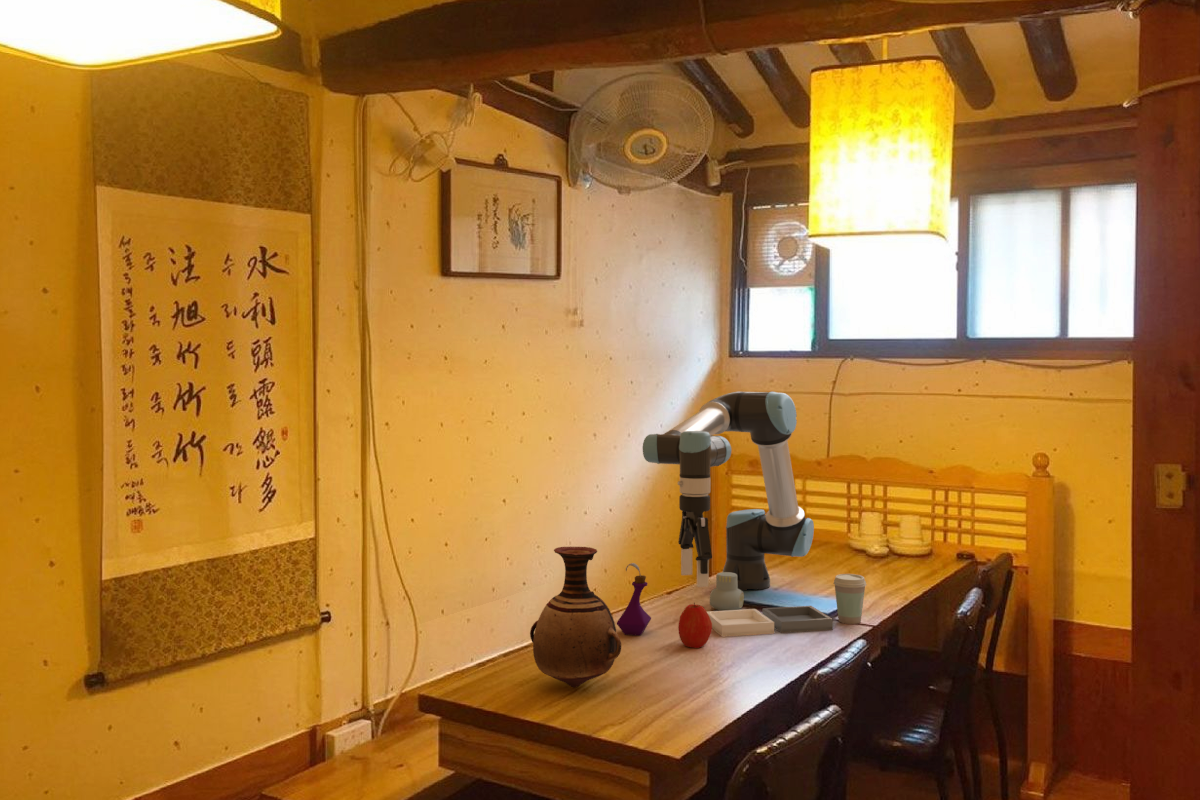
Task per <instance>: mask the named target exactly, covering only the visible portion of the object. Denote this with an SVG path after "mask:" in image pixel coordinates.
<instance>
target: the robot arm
mask: <svg viewBox="0 0 1200 800" xmlns="http://www.w3.org/2000/svg"><path fill="white" fill-rule="evenodd" d="M797 421H798V420H797V410H796V405H795V403H794V400H793V399H792V397H790V395H788V394H787V393H784V392H777V391H770V392H767V391H732V392H730V393H729V392H728V393H726V394H723V395H720V396H718V397H715V398H713V399H711V400H709V401H707V402H706V403H704V404H702V406H701V408H699V411H698V412H697V413H695V414H693V415H692V416H690V417H688V418H686V419H685V420H684V421H682V422H681V423H679V424H677V425H676V426H674V427H673V428H671V429H669V430H668V431H666V432H664V433H661V434H659V433H653V434H652V433H651V434H647V435H646V436H645V438H644V440H643V443H642V455H643V459H644V460H645V461H646V462H648V463H652V464H653V463H654V464H658V465H660V464H662V465H679V480H678V481H677V485H678V486H679V493H680V495H679V504H678V505H679V507H678V508H679V510H680V511H681V523H680V529H679V530H680V531H679V536H678V542H677V543H678V544H679V545H680V548H681V549H680V551H681V552H680V554H681V555H680V556H681V557H680V564H681V566H680V575H681V576H693V548H695V549H696V554H697V556H696V558H695V561H696V587H697V588H709V585H710V584H709V583H710V581H709V580H710V579H709V578H710V575H709V574H710V572H709V571H710V569H709V568H710V560H711V559H713V553H712V552H713V551H712V545H711V540H710V531H709V519H708V517H704V514H703V513H704V512H705V513H706V512H709V511H710V510H711V496H710V495H709V494H710V493H711V488H712V487H711V485H712V482H711V477H712V476H711V468H713V467H718V466H721V465H723V464H726V462H727V461H729V459H730V458H731V455H732V446H731V443H730V441H729V440H728V439H727V438H726V437H724V436H721V435H720V434H723V433H724V432H735V433H736V432H738V433H749V435H750V439H751V442H752V443H753V444H755V445H757V448H758V454H759V460H760V464H761V465H760V466H761V472H762V477H763V481H764V487H765V492H766V493H765V494H766V498H767V499H766V500H767V505H768V506H767V507H768V511H767V512H766V511H765V510H764V509H761V508H753V509H743V510H736V511H732V512H729V513H728V515H727V517H726V525H725V530H726V531H725V532H726V533H725V534H726V538H725V539H726V540H725V542H726V545H725V546H726V551H725V552H726V558H725V564H724V566H723V569H722V572H732V573H736V574H737V581H738V589H740V590H741V591H748V590H747V589H759V590H764V589H767V588H769V587H770V586H771V577H770V575H769V571H768V567H767V564H766V561H765V554H769V555H777V556H778V555H779V556H785V557H787V556H788V557H800V558H801V557H806V555H807V554H808V553H809V551H810V549H811V546H812V543H813V539H814V531H815V528H814V527H815V525H814V520H813V519H811V518H810V517H806V515H805V511H804V509H803V508H802V507H801V506H799V504H798V498H797V492H796V491H797V490H796V486H795V485H796V484H795V479H794V472H793V468H792V459H791V454H790V453H791V452H790V446H789V442H788V441H789V440H790V438H791V437H792V433H794V431H795V430H796V427H797ZM693 541H694V543H695V547H694V544H693Z"/></svg>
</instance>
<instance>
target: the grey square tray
mask: <svg viewBox="0 0 1200 800" xmlns="http://www.w3.org/2000/svg"><path fill="white" fill-rule="evenodd" d="M761 613H762V614H763V615H765V616H766V617H768V618H769V619H770V620H772V621H773V622H774V630H775V629H776V631H778V632H780V634H785V633H786V634H787V633H789V634H790V633H802V632H803V633H804V632H820V631H833V627H834V626H833V625H834V623H833V622H834V620H833V618H832V617H830V616H829V615H828V614H826V613H824V612H822V611H821V610H819V609H817V608H815V607H814V606H813V605H798V606H783V607H782V606H781V607H779V606H778V607H766V608H764V607H763V608H762V612H761Z"/></svg>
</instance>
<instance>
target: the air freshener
mask: <svg viewBox="0 0 1200 800" xmlns="http://www.w3.org/2000/svg"><path fill="white" fill-rule="evenodd" d="M715 581H716V587H715V588H713V589H712V590H711V592H710V594H709V595H710V596H709V605H710V607H711V608H713V609H715V611H725V610H742V607H743V605H744V602H745V601H744V600H745V594H744V590H740V589H738V581H737V574H736V573H732V572H723V571H721V572H717V574H716V579H715Z"/></svg>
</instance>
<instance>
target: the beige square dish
mask: <svg viewBox="0 0 1200 800" xmlns="http://www.w3.org/2000/svg"><path fill="white" fill-rule="evenodd" d="M706 612H707V613H708V615H709V617H710V619H711V622H712V630H714V632H715V633H717V634H718V635H719V636H721V637H723V638H724V637H725V638H726V637H736V636H737V637H739V636H740V637H742V636H753V635H754V636H755V635H756V636H757V635H770V634H771V635H773V634H775V628H774V622H773V621H772V620H770V619H769V618H768V617H766V616H765V615H763V614H762V612H760V611H759V610H758V609H756V608H748V609H739V610H725V611H719V610H713V611H711V610H709V611H706Z"/></svg>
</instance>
